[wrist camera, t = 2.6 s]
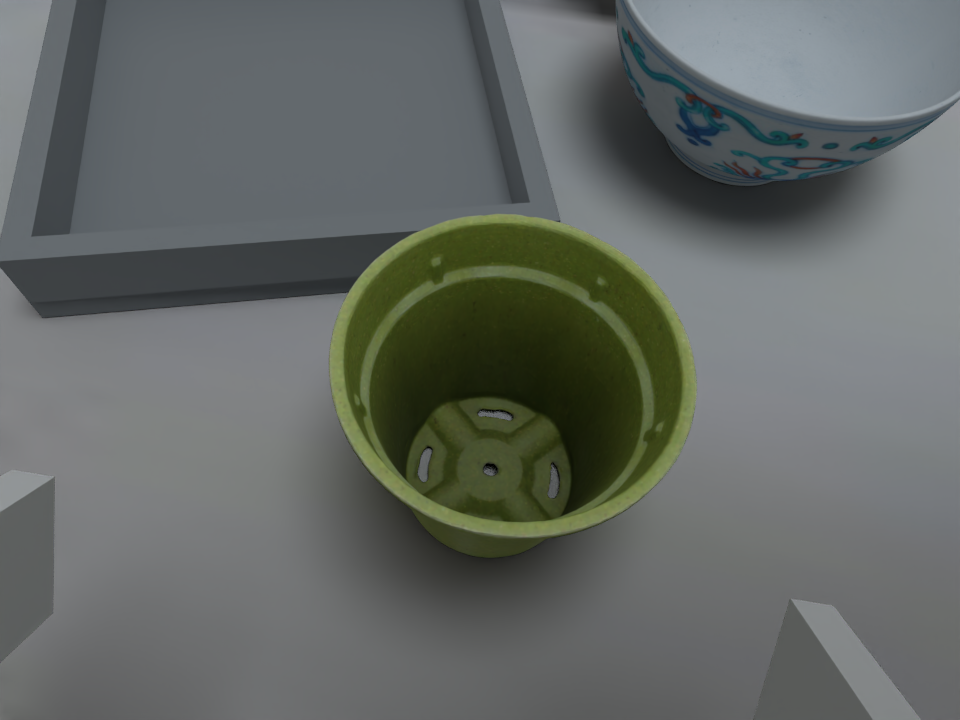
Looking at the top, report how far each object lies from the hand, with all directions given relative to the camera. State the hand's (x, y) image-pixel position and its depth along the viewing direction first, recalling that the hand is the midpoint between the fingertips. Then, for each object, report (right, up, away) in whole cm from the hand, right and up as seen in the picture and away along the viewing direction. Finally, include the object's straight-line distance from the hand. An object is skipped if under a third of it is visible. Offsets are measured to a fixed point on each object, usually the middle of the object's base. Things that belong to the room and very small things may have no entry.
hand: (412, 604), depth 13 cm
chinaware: (+14, +15, +23) cm, 31 cm away
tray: (-7, +16, +21) cm, 27 cm away
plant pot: (+1, 0, +13) cm, 13 cm away
